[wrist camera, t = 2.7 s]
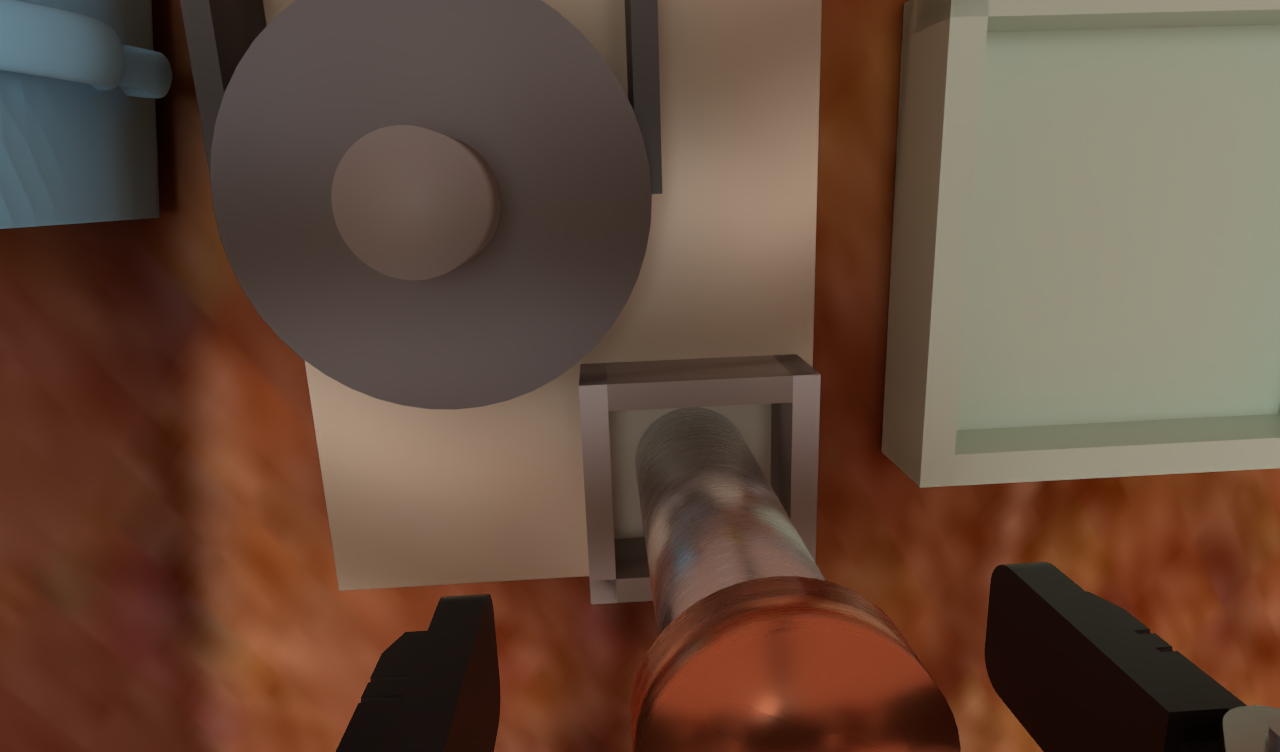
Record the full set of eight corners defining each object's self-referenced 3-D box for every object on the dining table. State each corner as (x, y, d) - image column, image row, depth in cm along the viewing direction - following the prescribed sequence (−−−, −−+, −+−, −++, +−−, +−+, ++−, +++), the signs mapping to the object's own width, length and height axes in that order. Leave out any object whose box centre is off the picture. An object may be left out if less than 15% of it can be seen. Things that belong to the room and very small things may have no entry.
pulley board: (266, -1, 17) (67, -114, 10) (803, -13, 17) (921, -127, 11) (348, 562, 20) (235, 732, 14) (792, 536, 21) (877, 689, 14)
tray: (903, 3, 17) (953, -26, 15) (1356, -7, 18) (1474, -37, 16) (881, 451, 20) (920, 487, 18) (1274, 431, 21) (1363, 463, 18)
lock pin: (611, 390, 18) (628, 644, 8) (767, 383, 18) (972, 621, 8) (617, 534, 19) (640, 919, 9) (766, 526, 19) (948, 895, 9)
